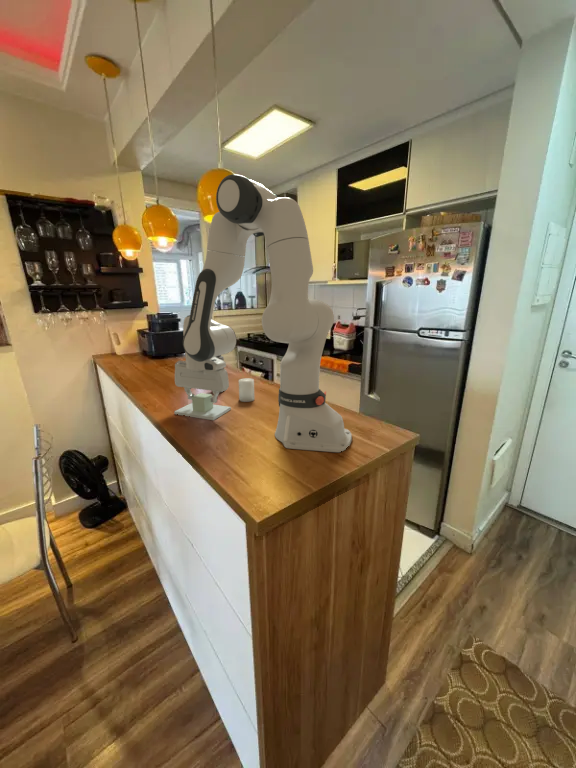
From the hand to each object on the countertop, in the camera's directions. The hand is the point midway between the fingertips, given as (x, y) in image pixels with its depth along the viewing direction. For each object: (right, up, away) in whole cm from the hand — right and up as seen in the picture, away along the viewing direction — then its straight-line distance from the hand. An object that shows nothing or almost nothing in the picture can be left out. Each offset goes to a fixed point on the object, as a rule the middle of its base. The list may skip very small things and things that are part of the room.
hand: (202, 400), depth 109 cm
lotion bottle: (0, +3, +26) cm, 26 cm away
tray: (0, -4, +1) cm, 4 cm away
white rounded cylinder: (+14, 0, +15) cm, 20 cm away
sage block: (0, -3, +1) cm, 3 cm away
